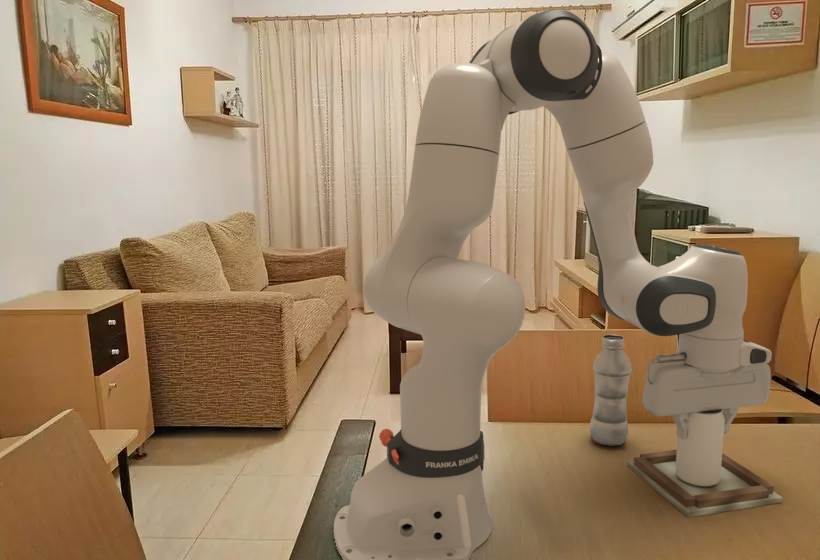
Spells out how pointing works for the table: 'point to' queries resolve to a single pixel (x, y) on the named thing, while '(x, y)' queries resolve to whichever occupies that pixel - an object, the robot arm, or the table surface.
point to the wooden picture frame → (726, 495)
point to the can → (701, 449)
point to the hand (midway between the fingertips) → (702, 434)
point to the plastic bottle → (610, 392)
